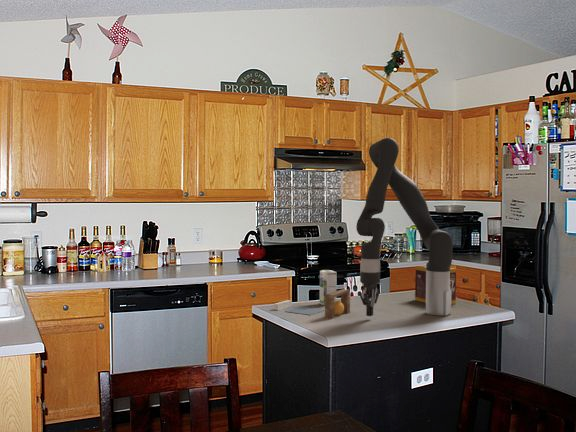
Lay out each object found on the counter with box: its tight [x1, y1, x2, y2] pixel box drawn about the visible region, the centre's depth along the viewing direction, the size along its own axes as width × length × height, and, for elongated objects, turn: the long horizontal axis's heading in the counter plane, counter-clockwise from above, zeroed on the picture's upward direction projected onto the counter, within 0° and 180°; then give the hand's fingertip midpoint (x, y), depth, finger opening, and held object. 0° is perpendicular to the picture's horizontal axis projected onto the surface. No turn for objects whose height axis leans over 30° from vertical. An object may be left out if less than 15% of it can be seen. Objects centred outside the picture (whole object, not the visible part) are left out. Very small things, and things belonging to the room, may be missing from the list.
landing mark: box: [284, 306, 325, 316], centre depth 250 cm, size 12×12×1 cm
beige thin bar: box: [273, 299, 293, 311], centre depth 256 cm, size 2×10×2 cm, turn 146°
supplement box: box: [414, 264, 457, 305], centre depth 271 cm, size 10×15×16 cm
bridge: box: [324, 288, 351, 320], centre depth 241 cm, size 3×14×9 cm, turn 146°
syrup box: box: [318, 269, 338, 307], centre depth 264 cm, size 6×6×14 cm
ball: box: [334, 300, 344, 316], centre depth 242 cm, size 6×6×6 cm
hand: (369, 315), depth 233 cm, fingers closed
